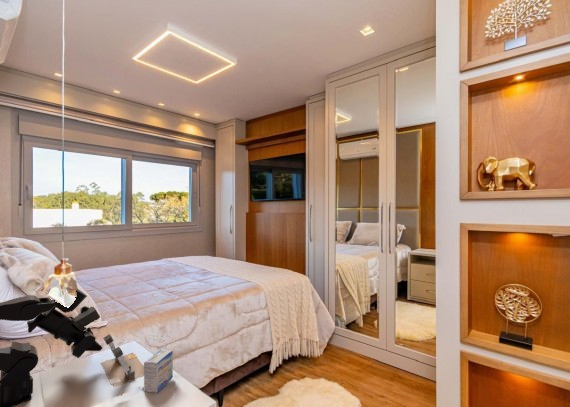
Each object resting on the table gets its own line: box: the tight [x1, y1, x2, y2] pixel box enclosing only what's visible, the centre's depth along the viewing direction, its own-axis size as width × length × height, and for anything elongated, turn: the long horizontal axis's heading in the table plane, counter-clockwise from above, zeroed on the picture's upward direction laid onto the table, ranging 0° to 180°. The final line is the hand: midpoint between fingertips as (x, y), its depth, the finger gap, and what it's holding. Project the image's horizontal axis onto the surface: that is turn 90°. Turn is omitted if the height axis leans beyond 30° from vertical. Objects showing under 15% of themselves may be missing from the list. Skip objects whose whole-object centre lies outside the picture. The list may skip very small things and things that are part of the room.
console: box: [100, 352, 144, 388], centre depth 93 cm, size 10×18×4 cm, turn 43°
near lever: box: [111, 346, 131, 377], centre depth 88 cm, size 2×3×9 cm, turn 44°
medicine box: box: [143, 349, 174, 394], centre depth 87 cm, size 8×4×9 cm, turn 168°
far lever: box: [102, 334, 118, 362], centre depth 97 cm, size 2×3×9 cm, turn 43°
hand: (101, 349), depth 94 cm, fingers closed
